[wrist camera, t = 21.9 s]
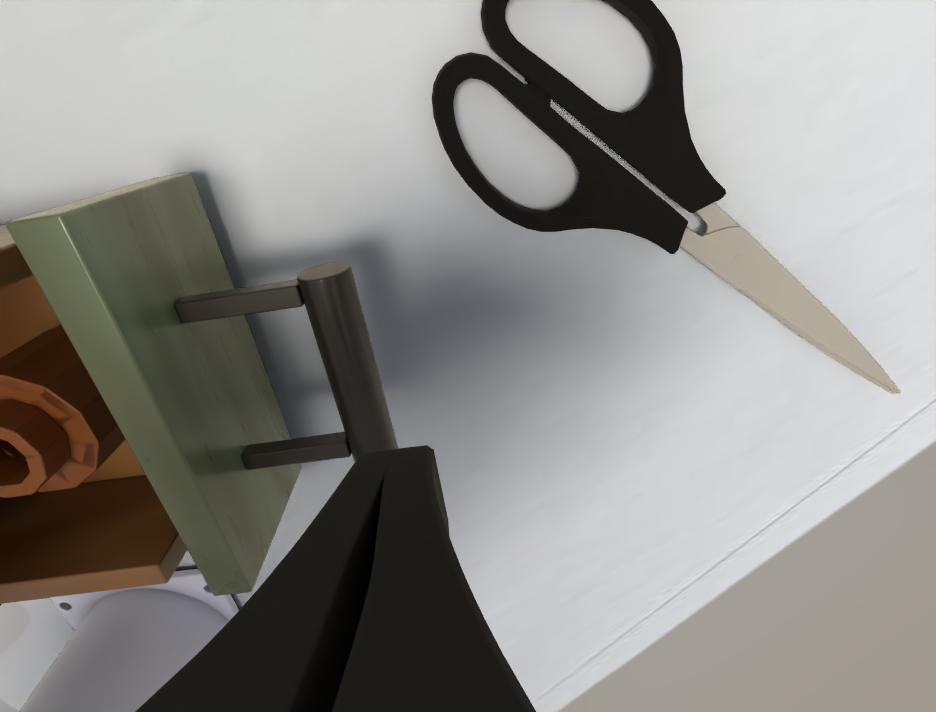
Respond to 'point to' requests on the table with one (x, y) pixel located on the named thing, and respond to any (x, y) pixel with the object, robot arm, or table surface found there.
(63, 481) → the spice bottle
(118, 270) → the drawer
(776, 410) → the table surface
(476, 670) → the robot arm
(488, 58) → the scissors
